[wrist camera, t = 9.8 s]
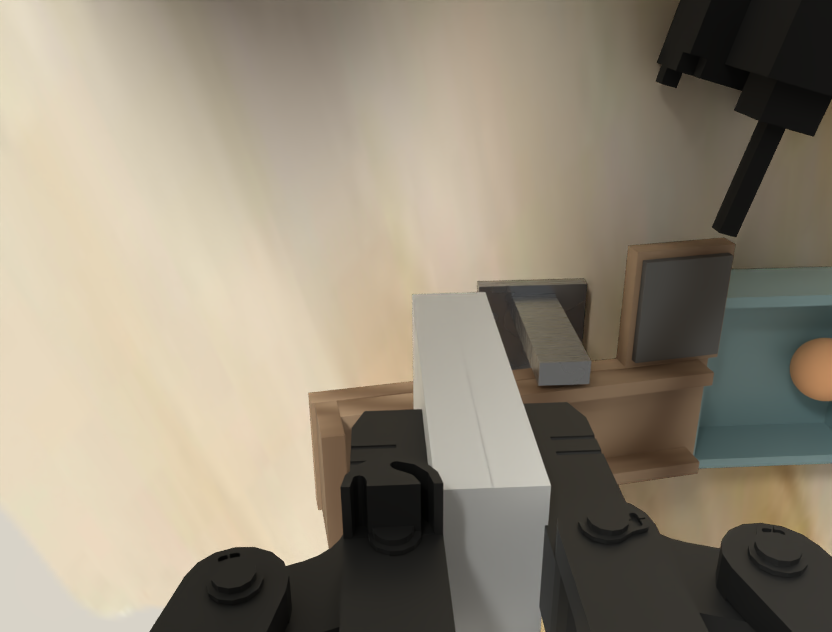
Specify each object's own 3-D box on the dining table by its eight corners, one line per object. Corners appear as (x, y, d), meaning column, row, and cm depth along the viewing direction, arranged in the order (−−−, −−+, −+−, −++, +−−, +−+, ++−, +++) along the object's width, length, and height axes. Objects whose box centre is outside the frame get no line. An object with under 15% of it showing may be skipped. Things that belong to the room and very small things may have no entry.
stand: (473, 433, 49) (494, 530, 40) (477, 281, 45) (501, 354, 36) (571, 430, 49) (611, 525, 41) (583, 278, 45) (630, 350, 37)
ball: (820, 418, 44) (868, 405, 45) (833, 360, 42) (882, 348, 44) (770, 389, 47) (816, 377, 48) (781, 333, 45) (828, 323, 47)
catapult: (316, 497, 40) (324, 550, 36) (299, 273, 35) (307, 308, 31) (691, 446, 44) (732, 489, 40) (723, 237, 39) (774, 265, 35)
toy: (600, 168, 42) (662, 226, 33) (708, -124, 37) (818, -151, 28) (727, 203, 44) (821, 268, 34) (850, -75, 38) (1001, -86, 29)
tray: (658, 431, 49) (694, 490, 44) (680, 270, 45) (723, 314, 39) (826, 425, 50) (882, 482, 44) (864, 265, 45) (931, 308, 40)
